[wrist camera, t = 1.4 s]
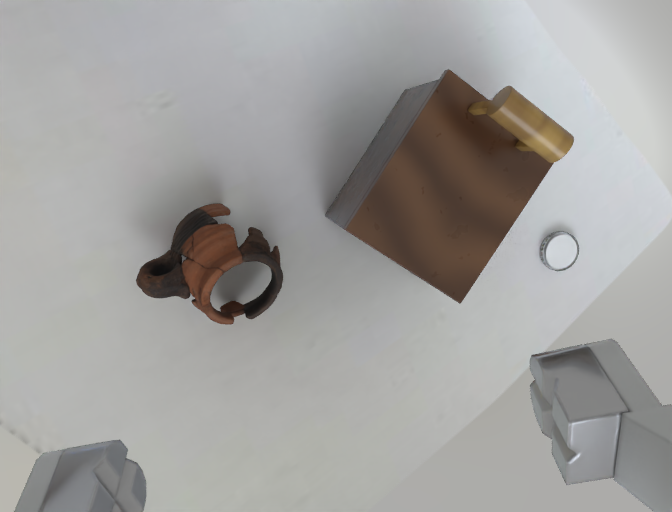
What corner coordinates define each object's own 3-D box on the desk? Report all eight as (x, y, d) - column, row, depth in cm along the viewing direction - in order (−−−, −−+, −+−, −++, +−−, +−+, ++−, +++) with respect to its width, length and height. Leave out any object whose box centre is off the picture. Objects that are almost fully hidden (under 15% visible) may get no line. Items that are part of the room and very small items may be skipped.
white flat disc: (582, 250, 58) (586, 251, 58) (555, 277, 58) (558, 279, 58) (560, 223, 57) (564, 224, 57) (533, 250, 57) (536, 252, 57)
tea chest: (405, 89, 52) (439, 79, 44) (500, 160, 55) (548, 162, 47) (324, 215, 53) (343, 228, 44) (422, 278, 56) (456, 301, 48)
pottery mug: (250, 184, 51) (289, 229, 45) (259, 265, 57) (295, 314, 51) (114, 221, 47) (139, 277, 41) (140, 305, 52) (164, 364, 47)
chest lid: (444, 70, 44) (485, 56, 37) (553, 154, 47) (609, 156, 40) (343, 228, 44) (364, 243, 38) (456, 301, 48) (495, 327, 41)
